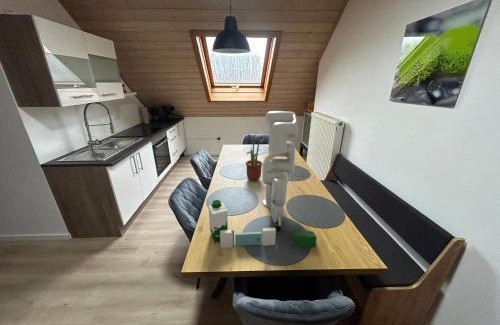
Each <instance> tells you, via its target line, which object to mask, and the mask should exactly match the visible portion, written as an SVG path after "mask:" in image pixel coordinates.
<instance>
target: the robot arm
mask: <svg viewBox="0 0 500 325" xmlns="http://www.w3.org/2000/svg"><path fill="white" fill-rule="evenodd" d="M265 125H266V128H267V129H268V154H267V155H266V157H264V159H263V162H262V166H261V181H262V183H263V184H265V186H266V187H265V188H266V189H265V198H264V199H263V201H262V204H263V206H265V207H266V208H268V209H270V217H271V216H272V219H273V222H274V223H275V227H274V228H275V229H276V232H280V228H281V222H283V223H284V212H285V210H284V209H285V208H284V206H285V204H286V202H287V201H286V200H287V191H288V182H289V181H290V180H289V179H290V175H292V174H294V172H295V164H296V163H295V161H296V147H295V143H294V142H293V141H289V140H287V139H296V138H298V134H299V122H298V117H297V114H296V113H295V112H294V111H284V110H283V111H282V110H272V111H268V112H267V113H265ZM276 157H283V158H276ZM285 157H286V158H285ZM277 222H278V224H277ZM280 233H281V232H280Z"/></svg>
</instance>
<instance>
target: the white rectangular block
mask: <svg viewBox="0 0 500 325" xmlns="http://www.w3.org/2000/svg"><path fill="white" fill-rule="evenodd" d="M261 232H262V240H261V245H262V247H263V246H275V245H276V234H277V233H276V229H275V228H270V227H267V228H266V227H265V228H264V227H263V228H262V231H261ZM219 242H220V244H219V245H220V248H221V249H222V248H223V249H225V248H233V247H235V230H234V229H228V230H221V231H220V241H219Z"/></svg>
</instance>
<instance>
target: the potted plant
mask: <svg viewBox="0 0 500 325" xmlns="http://www.w3.org/2000/svg"><path fill="white" fill-rule="evenodd" d="M250 143H251V144H252V147H250V151H248V152H246V155H249V154H250V159H249V160H247V161H246V162H245V165H246V177H247V179H248V180H249V181H250V182H253V183H254V182H257V181H259V180H260V178H261V177H262V165H263V162H262V161H261V160H258V155H259V156H261V154H260V153H259V151H261V150H260V141H259V140H258V142H257V148H256V152H255V137H252V142H250Z"/></svg>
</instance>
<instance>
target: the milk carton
mask: <svg viewBox="0 0 500 325" xmlns="http://www.w3.org/2000/svg"><path fill="white" fill-rule="evenodd" d="M208 218H209V219H208V220H209V230H210V235H211V238H212V240H213V243H214V244H215V243H218V242H220V231H221V230H229V227H228V225H229V224H228V208H227V207H226V205H225V203H224V202H223V201H222V202H221V201H220V199H219V200H218V199H215V200H213V201H212V203H211V204H209V205H208Z"/></svg>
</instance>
